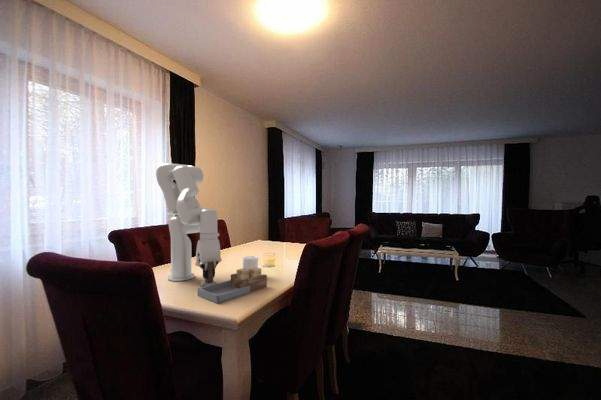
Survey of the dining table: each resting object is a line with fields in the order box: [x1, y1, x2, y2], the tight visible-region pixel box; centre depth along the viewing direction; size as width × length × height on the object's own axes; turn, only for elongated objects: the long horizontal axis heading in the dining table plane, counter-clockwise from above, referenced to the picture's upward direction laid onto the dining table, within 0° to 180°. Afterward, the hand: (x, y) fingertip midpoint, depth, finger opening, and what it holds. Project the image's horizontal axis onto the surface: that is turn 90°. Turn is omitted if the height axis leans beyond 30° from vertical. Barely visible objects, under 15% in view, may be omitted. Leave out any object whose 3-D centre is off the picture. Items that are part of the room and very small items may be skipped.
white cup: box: [242, 255, 259, 269], centre depth 145 cm, size 8×8×10 cm
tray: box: [197, 279, 251, 305], centre depth 119 cm, size 14×16×3 cm
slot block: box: [230, 272, 268, 294], centre depth 129 cm, size 13×10×6 cm
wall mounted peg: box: [200, 262, 218, 288], centre depth 128 cm, size 7×4×12 cm, turn 50°
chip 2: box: [249, 267, 262, 278], centre depth 130 cm, size 4×4×4 cm
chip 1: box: [236, 267, 249, 280], centre depth 128 cm, size 4×4×4 cm
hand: (208, 277), depth 128 cm, fingers closed on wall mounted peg, 2 cm apart
